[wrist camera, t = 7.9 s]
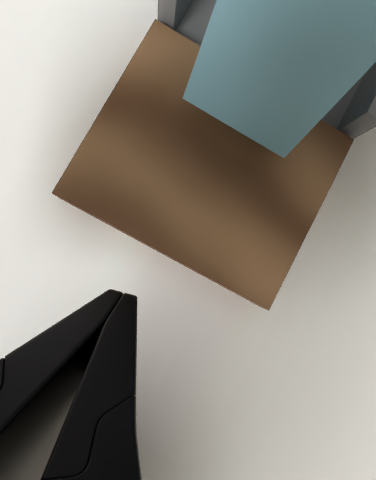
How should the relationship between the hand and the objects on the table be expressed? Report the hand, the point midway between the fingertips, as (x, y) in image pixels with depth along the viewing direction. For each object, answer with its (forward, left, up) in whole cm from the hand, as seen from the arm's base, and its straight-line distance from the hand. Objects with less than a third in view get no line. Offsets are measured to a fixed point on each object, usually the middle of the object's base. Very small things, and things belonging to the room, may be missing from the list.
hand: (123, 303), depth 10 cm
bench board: (+5, -5, -9) cm, 12 cm away
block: (+9, -9, -7) cm, 15 cm away
